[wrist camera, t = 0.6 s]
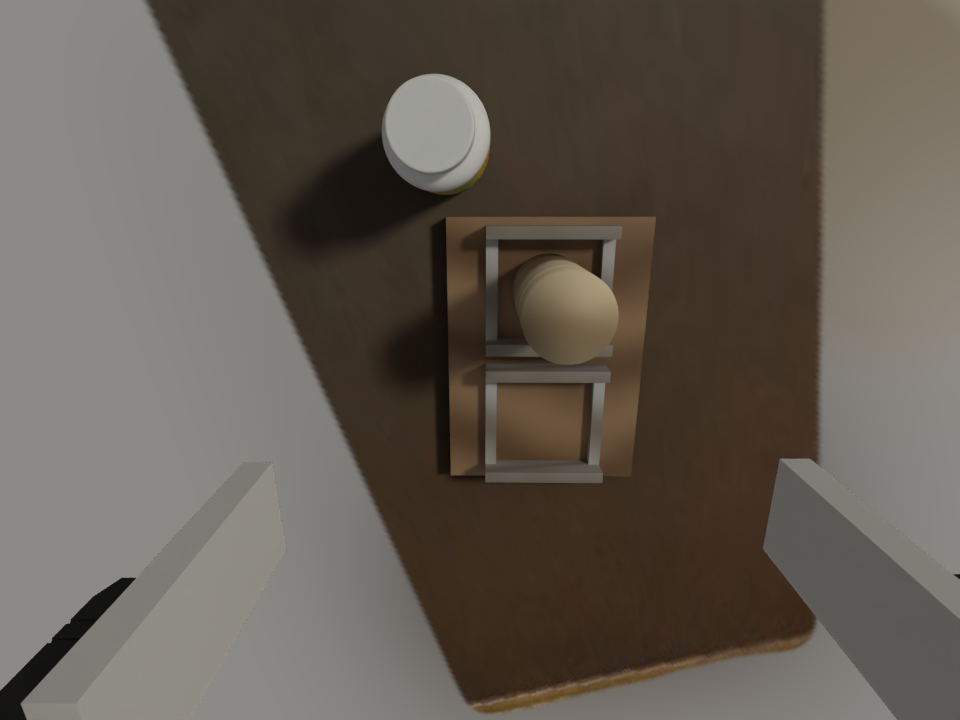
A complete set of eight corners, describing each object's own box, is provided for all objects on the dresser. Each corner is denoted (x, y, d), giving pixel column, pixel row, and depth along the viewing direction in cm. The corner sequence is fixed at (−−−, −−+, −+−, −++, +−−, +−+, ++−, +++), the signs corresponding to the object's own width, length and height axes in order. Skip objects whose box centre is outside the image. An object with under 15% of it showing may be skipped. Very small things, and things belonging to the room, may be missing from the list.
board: (447, 216, 33) (443, 217, 30) (649, 216, 32) (665, 217, 30) (452, 467, 38) (448, 488, 35) (626, 468, 38) (638, 489, 35)
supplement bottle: (448, 213, 33) (433, 215, 23) (384, 151, 32) (342, 127, 22) (507, 148, 31) (516, 123, 22) (443, 81, 30) (424, 25, 21)
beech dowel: (513, 253, 32) (522, 269, 23) (585, 253, 32) (622, 270, 23) (511, 324, 33) (520, 364, 25) (581, 324, 33) (614, 365, 25)
